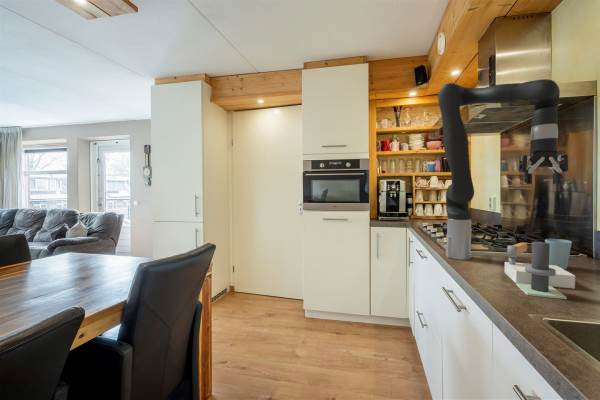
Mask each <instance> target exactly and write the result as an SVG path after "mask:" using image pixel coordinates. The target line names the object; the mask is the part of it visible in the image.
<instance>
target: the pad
mask: <svg viewBox="0 0 600 400" xmlns="http://www.w3.org/2000/svg"><path fill="white" fill-rule="evenodd" d="M515 284H516V286H517V287H518V288H519V289H520V290H521V291H522V292H523V293H525V294H526V295H527V296H530V297H531V296H533V297H539V298H540V297H541V298H549V299H550V298H553V299H561V300H568V299H567V297H568V296H566V295H565V294H563V293H562V292H560V291H559V290H557V289H556V288H555V287H552V286H549V290H548V292H540V291H535V290H533V289H531V285H530V284H519V283H515Z"/></svg>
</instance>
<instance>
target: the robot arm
mask: <svg viewBox="0 0 600 400" xmlns="http://www.w3.org/2000/svg"><path fill="white" fill-rule="evenodd" d="M560 92H561V91H560V87H559V85H558V84H557V83H556V81H554V80H552V79H545V78H544V79H537V80H531V81H525V82H515V83H513V82H512V83H502V84H495V85H489V86H483V87H465V86H462V85H460V84H457V83H452V82H448V83H446V84H444V85H442V86H441V87H440V89H439V91H438V94H437V100H438V101H437V102H438V105H439V110H440V115H441V121H442V134H443V148H444V149H443V150H444V154H445V159H446V161H447V164H448V166H449V167H448V168H449V170H450V176H451V184H450V185H449V186H448V187H447V189H446V192H445V210H446V211H445V212H446V215H447V216H446V217H447V218H446V219H447V221H446V222H447V224H446V225H447V226H446V227H447V229H446V230H447V231H446V236H445V239H446V243H445V245H446V247H445V255H446V257H447V258H448V259H454V260H464V261H465V260H466V261H467V260H471V257H472V256H471V255H472V252H471V251H472V212H471V211H470V205H469V204H470V202H471V201H472V200H473V199H474V196H475V188H474V184H473V179H472V175H471V165H470V164H471V163H470V162H471V161H470V151H469V150H470V149H469V148H470V146H469V137H468V132H467V129H466V127H465V124H464V122H463V120H462V116H461V107H463V106H469V105H474V104H475V105H478V104H517V103H521V102H522V101H524V102H525V101H534V111H533V113H532V115H531V130H530V134H529V135H530V136H529V143H530V144H529V155H526V154H525V155H521V156H519V161H518V172H519V173H523V174H524V183H526V185H532V184H533V172H534V171H535V170H536V169H537V168H548V169H549V170H551V172H553V173H552V184H553V185H560V183H561V182H562V173H565V172H568V171H569V156H568V154H566V153H565V154H557V153H558V149H559V148H558V143H559V128H558V119H559V117H558V108H559V102H560V95H561V94H560ZM529 161H530V163H529V164H528V162H529ZM557 161H558V162H557ZM527 165H528V166H527Z"/></svg>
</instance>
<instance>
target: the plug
mask: <svg viewBox="0 0 600 400" xmlns="http://www.w3.org/2000/svg"><path fill="white" fill-rule="evenodd" d="M531 264H532V265H527V266H525V271H526V272H528V273H531V289H533V290H535V291H540V292H548V290H549V276H555V275H556V270H555V269H553V268H549V243H545V241H531Z"/></svg>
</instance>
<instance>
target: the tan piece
mask: <svg viewBox="0 0 600 400" xmlns="http://www.w3.org/2000/svg"><path fill="white" fill-rule="evenodd" d="M506 251H507V252H506V253H507V254H506V256H507V257H508V258H509V257H516V258H518V256H519V255H520V254H522V253H525V252H527V251H528V242H523V241H521V242H518V243H516V244H513V245H507V250H506Z"/></svg>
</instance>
